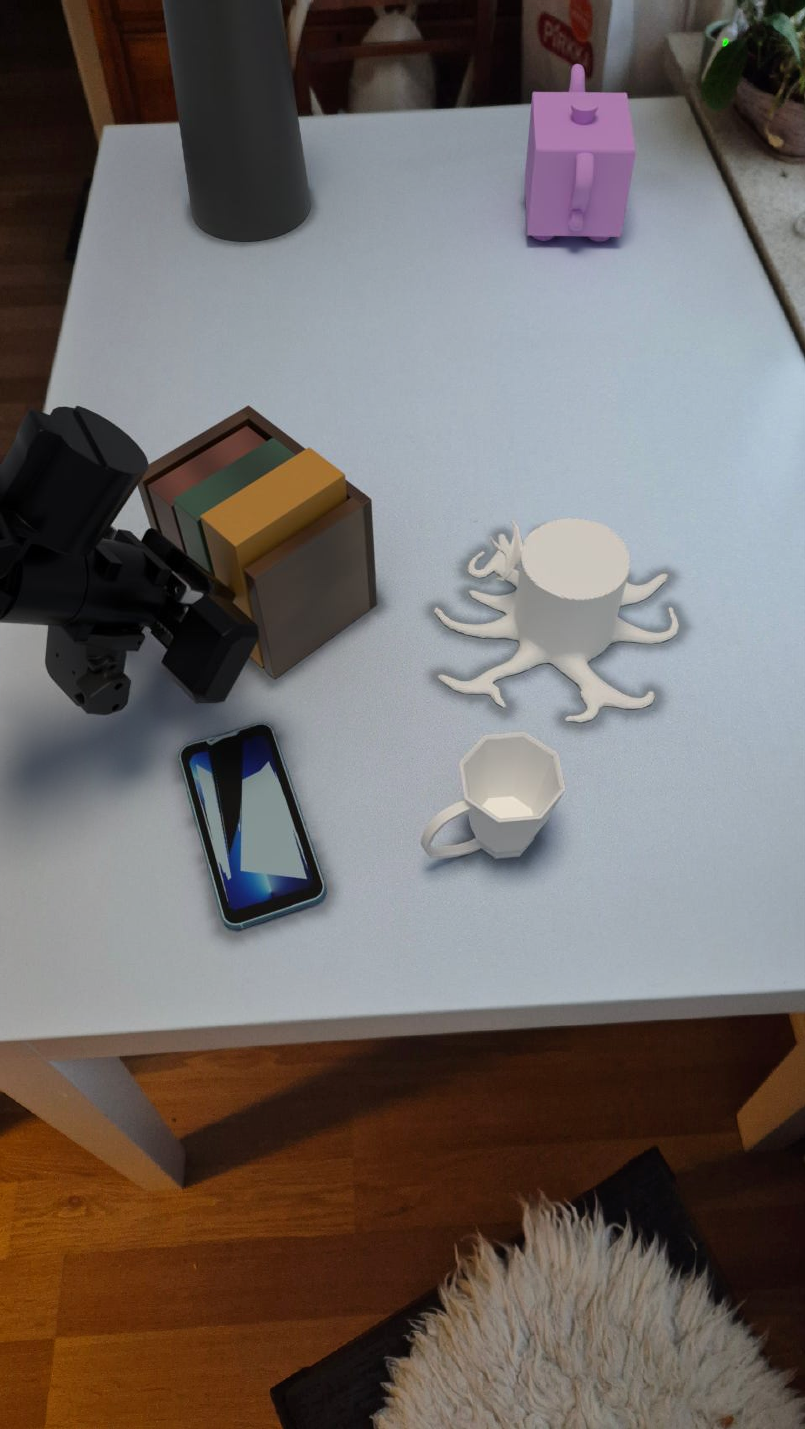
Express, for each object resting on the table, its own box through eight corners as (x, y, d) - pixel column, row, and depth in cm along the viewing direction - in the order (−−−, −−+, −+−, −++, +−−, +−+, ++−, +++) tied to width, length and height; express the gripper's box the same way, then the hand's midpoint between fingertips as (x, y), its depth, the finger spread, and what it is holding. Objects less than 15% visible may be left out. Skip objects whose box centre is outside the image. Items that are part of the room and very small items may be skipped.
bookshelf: (274, 679, 79) (251, 569, 68) (166, 579, 85) (129, 463, 74) (377, 604, 83) (371, 488, 72) (267, 513, 89) (246, 394, 78)
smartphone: (224, 930, 67) (174, 747, 75) (226, 935, 68) (177, 753, 75) (330, 895, 68) (270, 718, 76) (331, 900, 69) (272, 725, 77)
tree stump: (521, 505, 89) (529, 433, 83) (722, 601, 83) (749, 532, 76) (389, 654, 80) (386, 587, 74) (602, 774, 74) (621, 714, 67)
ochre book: (262, 668, 80) (235, 546, 68) (231, 639, 82) (199, 515, 70) (355, 600, 84) (345, 474, 72) (324, 574, 85) (309, 446, 74)
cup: (572, 849, 71) (588, 794, 64) (448, 913, 68) (450, 862, 62) (519, 773, 74) (529, 713, 68) (399, 831, 72) (397, 775, 65)
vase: (208, 172, 120) (155, -131, 96) (320, 179, 119) (295, -126, 95) (178, 237, 113) (113, -73, 89) (297, 245, 112) (264, -67, 88)
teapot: (620, 264, 109) (641, 145, 99) (526, 262, 109) (537, 144, 99) (607, 165, 120) (626, 49, 110) (522, 164, 120) (532, 48, 110)
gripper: (-64, 604, 68) (115, 616, 81) (89, 777, 60) (260, 760, 74) (-4, 458, 64) (174, 496, 77) (168, 623, 57) (332, 635, 70)
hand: (230, 597), depth 75 cm, fingers closed, pressing on ochre book
